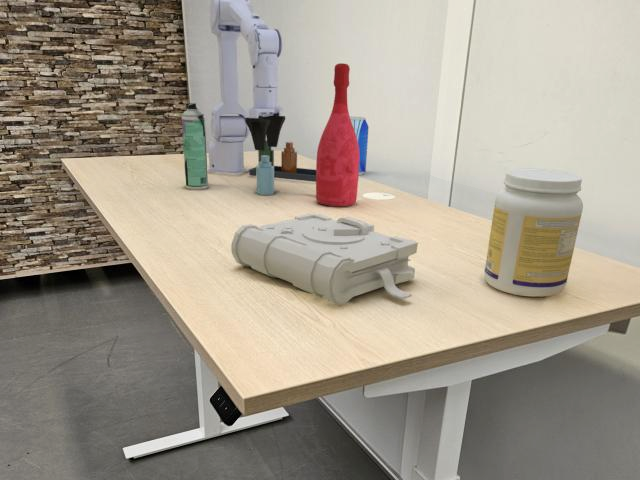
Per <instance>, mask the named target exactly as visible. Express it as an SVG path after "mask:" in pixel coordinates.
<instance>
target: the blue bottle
mask: <svg viewBox="0 0 640 480" xmlns="http://www.w3.org/2000/svg"><path fill="white" fill-rule="evenodd" d="M274 166H275V165H274ZM274 166H272V163H271V162H269V156H267V155H262V156H261V162H259V165H256V166H255V167H256V176H255V177H256V178H255V180H256V194H257V195H260V196H273V195H275V178H274Z"/></svg>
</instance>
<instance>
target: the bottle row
mask: <svg viewBox="0 0 640 480" xmlns="http://www.w3.org/2000/svg"><path fill="white" fill-rule="evenodd" d="M257 155H258V156H257V159H258V161H257V162H258V163H257V164H258V165H259V162H261V156H262V155H267V156H269V162H271V163H272V166H275V150H274V149H273V148H272V147H268V144H267V139H266V143H265V149H264V150H263V151H262V150H257ZM280 156H281V157H280V158H281V159H280V160H281V161H280V162H281V163H280V166H281V172H285V173H295V174H297V168H298V151H296V148H295V147H294V142H293V141H285V147H283V150H282V151H281V153H280ZM258 165H257V166H258Z"/></svg>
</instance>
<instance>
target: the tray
mask: <svg viewBox="0 0 640 480" xmlns="http://www.w3.org/2000/svg"><path fill="white" fill-rule="evenodd" d="M248 171H249V176H255V177H256V166H255V167H252V168H249V170H248ZM275 178H276V179H285V180H295V181H304V182H312V183H313V182H315V183H316V169H312V168H302V167H297V174H295V173H285V172H281V165H274V179H275Z"/></svg>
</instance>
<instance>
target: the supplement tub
mask: <svg viewBox="0 0 640 480" xmlns="http://www.w3.org/2000/svg"><path fill="white" fill-rule="evenodd" d="M582 182H583V178H582V176H580V175H578V174H576V173H571V172H568V171H561V170H554V169H546V168H526V167H524V168H512V169H508V170H507V171H506V173H505V178H504V180H503V184H504V186H505V187H504V188H503V189H501V190H500V191H499V192H498V193H497V194H496V197H495V200H494V207H493V212H492V219H491V226H490V233H489V240H488V246H487V252H486V254H487V255H486V260H485V266H484V270H483V271H484V272H483V273H484V275H483V276H484V279H485V281H486V282H487V284H488V285H489V286H491V287H492V288H494V289H496V290H498V291H501V292H504V293H508V294H510V295H515V296H521V297H529V298H531V297H535V298H536V297H537V298H538V297H539V298H540V297H542V298H543V297H551V296H554V295H557V294H559V293H561V292H562V291H563V290H564V289H565V287H566V285H567V283H568V278H569V273H570V268H571V263H572V259H573V256H574V251H575V246H576V241H577V238H578V237H577V236H578V233H579V227H580V222H581V219H582V218H581V217H582V213H583V208H584V204H583V199H581V197H580V196H579V195H578V192H581V190H582Z"/></svg>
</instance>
